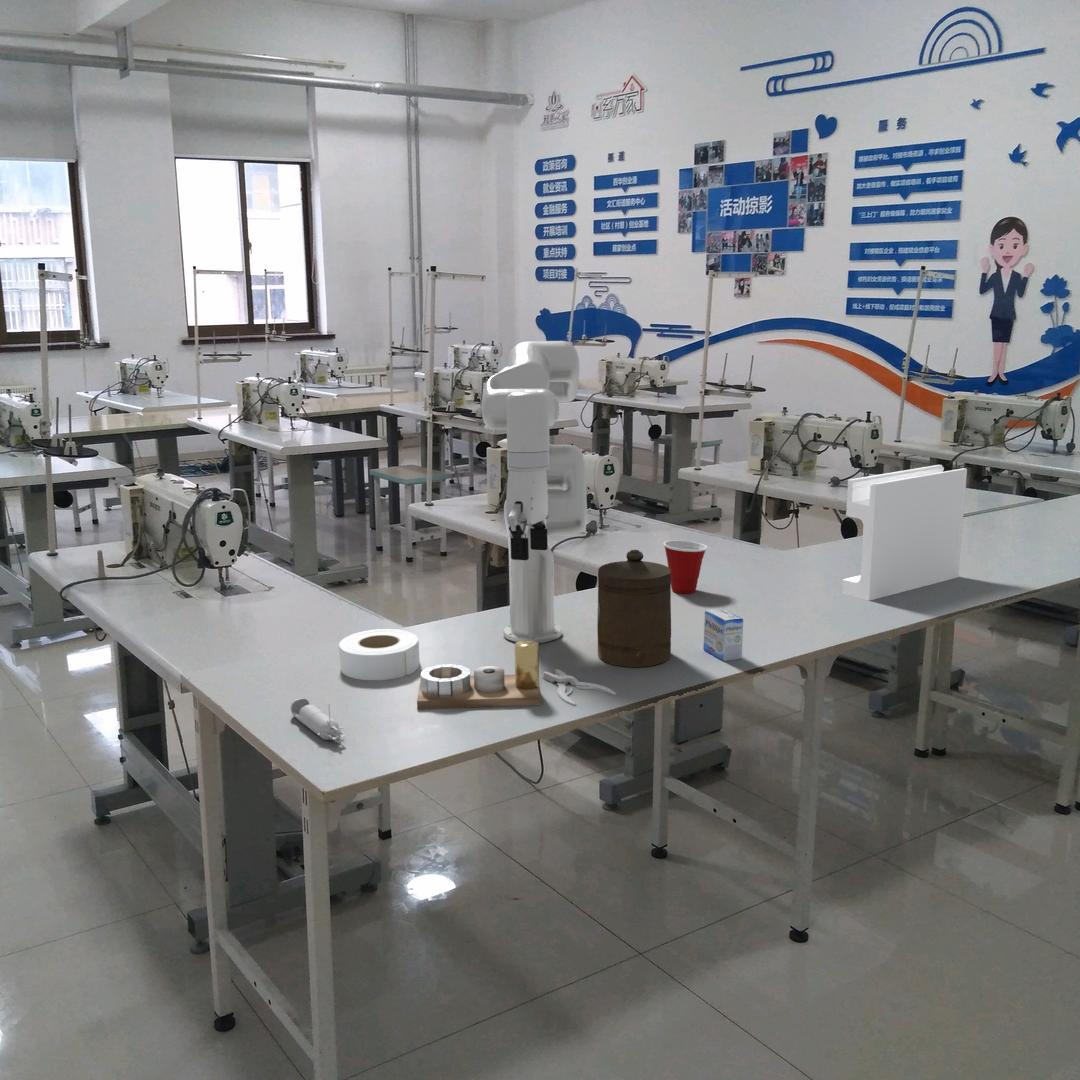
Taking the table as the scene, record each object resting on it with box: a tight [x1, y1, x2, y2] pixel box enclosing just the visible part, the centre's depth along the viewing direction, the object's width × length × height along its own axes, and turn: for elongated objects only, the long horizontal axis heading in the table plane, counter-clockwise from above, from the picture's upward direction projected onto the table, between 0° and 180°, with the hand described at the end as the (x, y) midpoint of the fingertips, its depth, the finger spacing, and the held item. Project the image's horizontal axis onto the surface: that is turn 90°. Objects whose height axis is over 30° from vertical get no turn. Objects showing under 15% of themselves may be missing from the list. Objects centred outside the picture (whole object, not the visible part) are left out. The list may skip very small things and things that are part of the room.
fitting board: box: [416, 665, 541, 710], centre depth 196 cm, size 12×22×5 cm, turn 93°
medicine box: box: [702, 608, 744, 662], centre depth 216 cm, size 8×4×9 cm, turn 23°
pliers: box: [542, 668, 617, 706], centre depth 200 cm, size 10×2×15 cm
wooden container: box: [596, 549, 672, 668], centre depth 215 cm, size 15×15×22 cm
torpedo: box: [290, 697, 346, 745], centre depth 182 cm, size 18×5×6 cm, turn 36°
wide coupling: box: [420, 663, 471, 697], centre depth 196 cm, size 9×9×3 cm
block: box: [841, 464, 968, 602], centre depth 262 cm, size 35×8×28 cm, turn 125°
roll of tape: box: [338, 628, 421, 681], centre depth 212 cm, size 16×16×6 cm
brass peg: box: [514, 641, 540, 690], centre depth 196 cm, size 4×4×8 cm
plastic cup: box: [663, 539, 709, 595], centre depth 261 cm, size 11×11×12 cm
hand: (529, 554), depth 194 cm, fingers open, 9 cm apart
